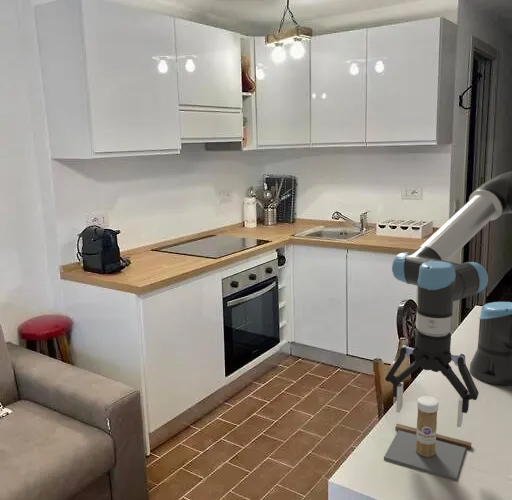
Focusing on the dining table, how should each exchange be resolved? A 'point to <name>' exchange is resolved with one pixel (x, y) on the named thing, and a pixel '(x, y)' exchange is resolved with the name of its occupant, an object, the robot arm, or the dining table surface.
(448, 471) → the mat
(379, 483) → the dining table surface
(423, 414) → the sprinkles bottle
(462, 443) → the brown wooden strip
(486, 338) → the robot arm
